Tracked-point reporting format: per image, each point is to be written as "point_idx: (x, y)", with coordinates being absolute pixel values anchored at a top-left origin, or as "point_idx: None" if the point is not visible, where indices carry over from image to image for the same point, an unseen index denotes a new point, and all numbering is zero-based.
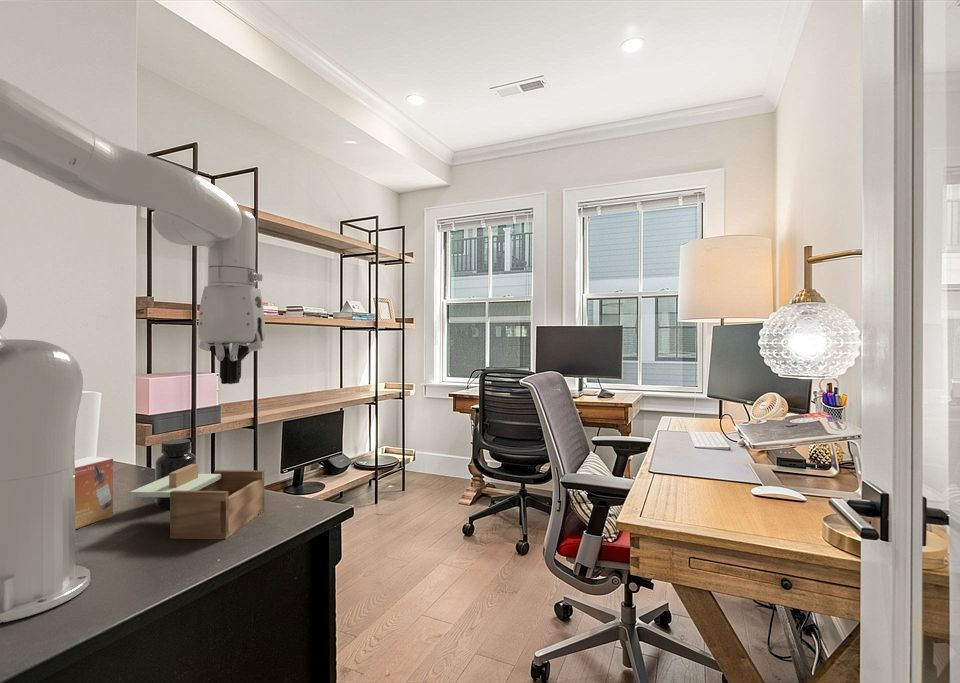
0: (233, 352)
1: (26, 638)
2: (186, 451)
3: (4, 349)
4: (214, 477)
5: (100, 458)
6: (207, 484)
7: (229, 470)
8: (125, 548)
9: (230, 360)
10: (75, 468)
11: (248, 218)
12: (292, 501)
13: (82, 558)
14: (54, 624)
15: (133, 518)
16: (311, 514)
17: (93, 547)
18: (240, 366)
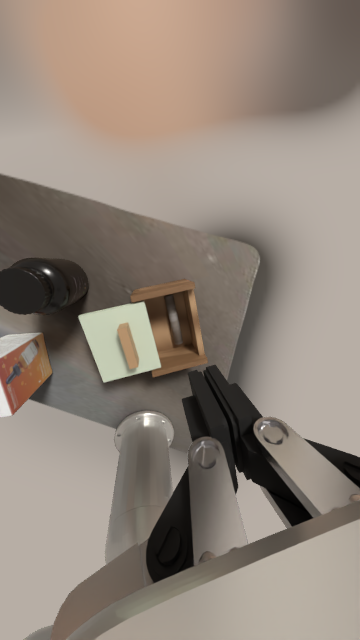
0: (295, 516)
1: (185, 447)
2: (53, 290)
3: None
4: (147, 316)
5: None
6: (151, 328)
7: (149, 294)
8: (135, 377)
9: (248, 468)
10: (11, 409)
11: None
12: (196, 244)
13: (121, 396)
14: (186, 438)
15: (71, 331)
16: (235, 277)
17: (108, 383)
18: (255, 412)
